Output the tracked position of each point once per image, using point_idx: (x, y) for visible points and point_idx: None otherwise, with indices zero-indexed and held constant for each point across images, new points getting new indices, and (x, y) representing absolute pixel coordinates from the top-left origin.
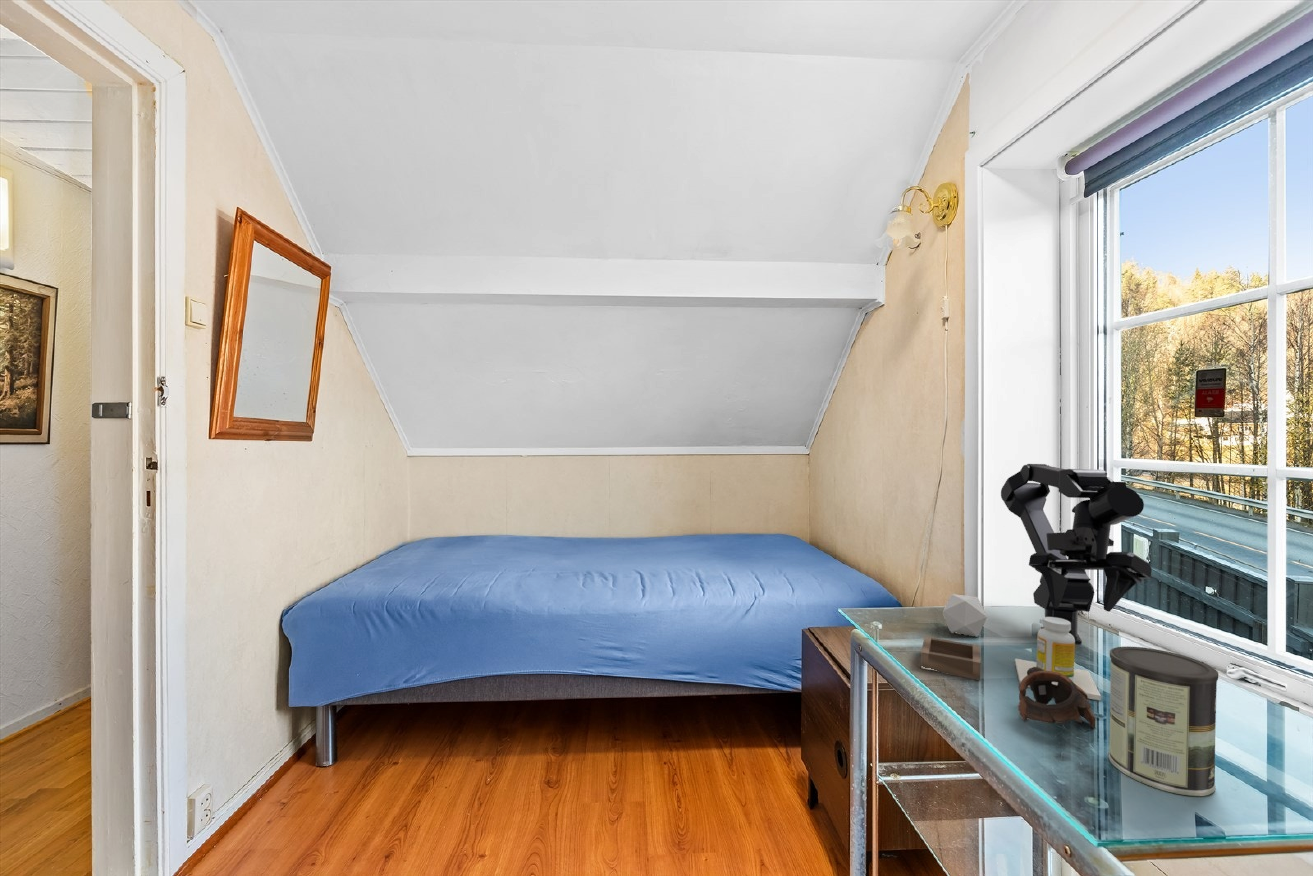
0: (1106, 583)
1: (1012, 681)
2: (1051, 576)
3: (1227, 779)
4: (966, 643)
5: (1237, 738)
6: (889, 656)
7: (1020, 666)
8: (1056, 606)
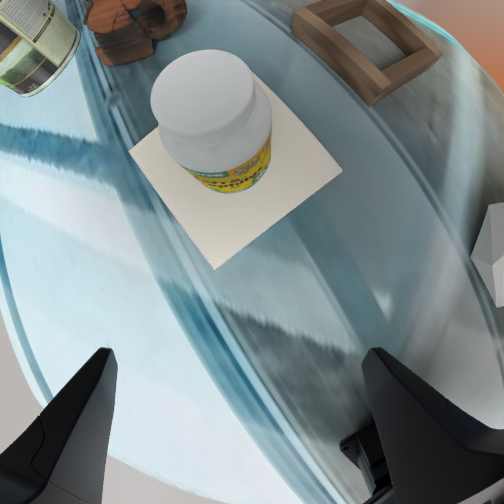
0: (52, 462)
1: (266, 74)
2: (468, 449)
3: (11, 112)
4: (399, 77)
5: (14, 232)
6: (413, 15)
7: (301, 133)
8: (365, 358)
